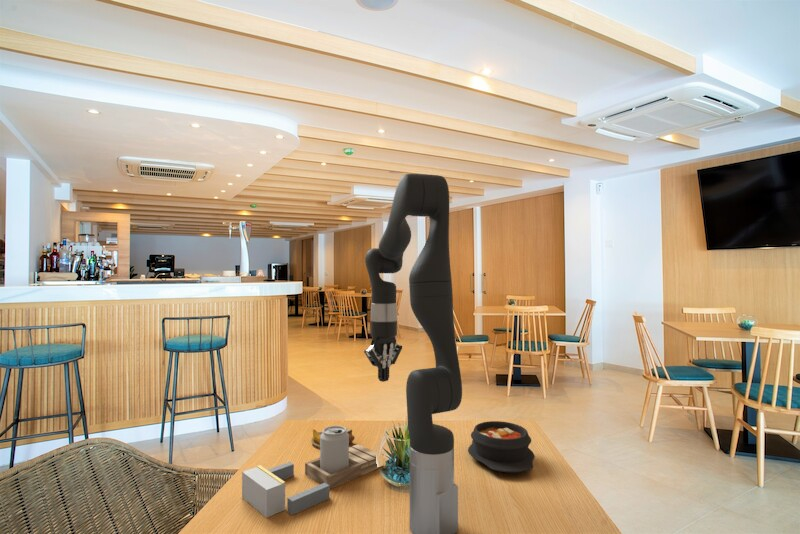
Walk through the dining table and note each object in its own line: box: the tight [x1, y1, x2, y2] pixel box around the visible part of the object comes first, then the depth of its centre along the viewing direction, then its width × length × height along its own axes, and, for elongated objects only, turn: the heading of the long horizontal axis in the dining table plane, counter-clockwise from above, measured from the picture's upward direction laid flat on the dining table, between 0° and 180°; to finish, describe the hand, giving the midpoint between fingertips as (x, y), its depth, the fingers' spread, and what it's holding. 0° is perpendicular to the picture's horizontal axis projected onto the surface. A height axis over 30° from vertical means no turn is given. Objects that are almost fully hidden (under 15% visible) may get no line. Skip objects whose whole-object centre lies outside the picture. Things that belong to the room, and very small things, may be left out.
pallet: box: [304, 443, 379, 490], centre depth 116 cm, size 11×18×3 cm, turn 135°
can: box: [319, 425, 350, 474], centre depth 114 cm, size 8×8×12 cm
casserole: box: [467, 420, 535, 474], centre depth 124 cm, size 25×19×8 cm
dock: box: [241, 461, 331, 519], centre depth 103 cm, size 18×14×6 cm
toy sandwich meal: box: [310, 427, 355, 449], centre depth 135 cm, size 12×14×5 cm
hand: (383, 380), depth 121 cm, fingers closed
